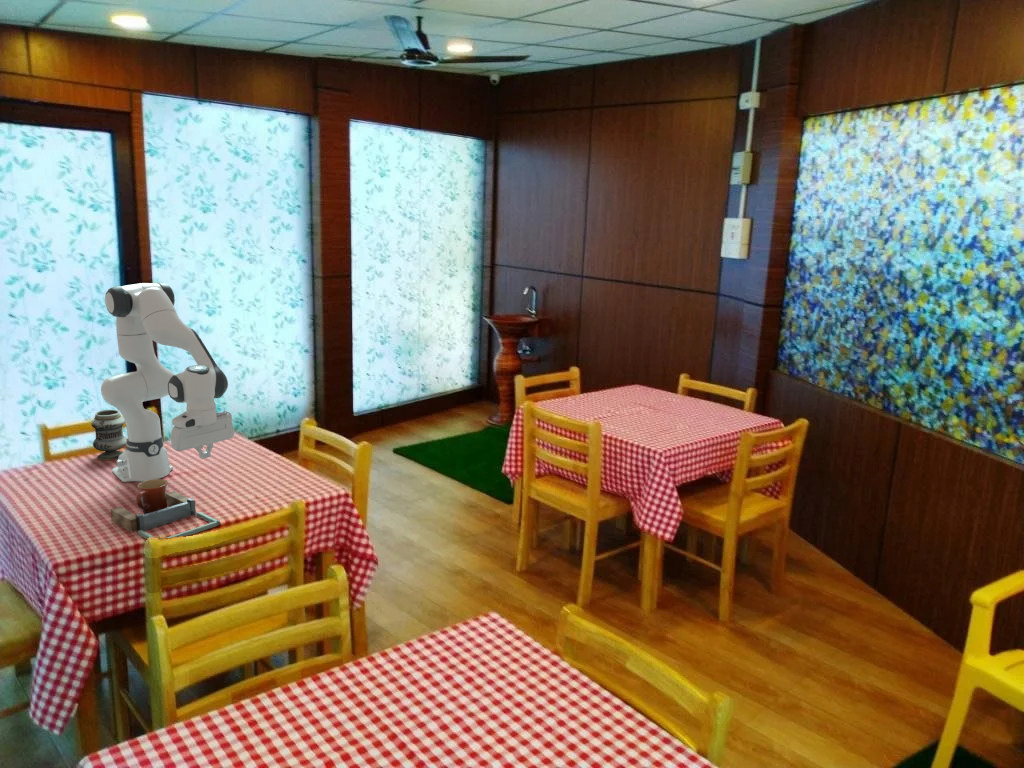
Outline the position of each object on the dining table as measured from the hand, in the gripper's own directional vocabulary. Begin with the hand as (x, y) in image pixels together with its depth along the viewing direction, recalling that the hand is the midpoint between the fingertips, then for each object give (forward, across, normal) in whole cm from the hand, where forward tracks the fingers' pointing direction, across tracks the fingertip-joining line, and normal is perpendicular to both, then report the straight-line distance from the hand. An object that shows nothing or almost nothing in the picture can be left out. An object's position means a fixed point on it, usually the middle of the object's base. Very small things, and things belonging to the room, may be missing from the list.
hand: (205, 457), depth 255 cm
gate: (+18, +14, 0) cm, 23 cm away
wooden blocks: (+18, +14, -8) cm, 24 cm away
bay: (+18, +14, +8) cm, 24 cm away
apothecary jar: (+18, -5, -78) cm, 80 cm away
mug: (+18, +14, -10) cm, 25 cm away
